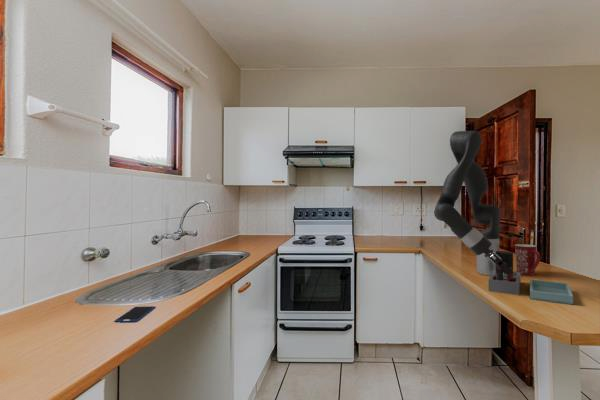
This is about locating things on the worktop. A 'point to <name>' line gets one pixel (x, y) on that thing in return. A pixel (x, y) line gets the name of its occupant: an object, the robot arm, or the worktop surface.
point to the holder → (505, 284)
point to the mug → (526, 258)
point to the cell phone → (135, 314)
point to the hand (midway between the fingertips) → (509, 271)
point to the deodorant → (508, 259)
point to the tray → (551, 292)
